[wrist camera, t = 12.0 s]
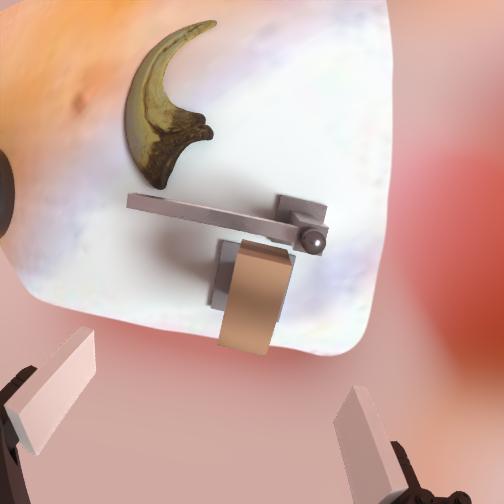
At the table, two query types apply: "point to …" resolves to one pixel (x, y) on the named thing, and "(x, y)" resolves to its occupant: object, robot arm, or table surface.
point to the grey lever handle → (251, 220)
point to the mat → (226, 273)
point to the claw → (161, 113)
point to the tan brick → (255, 297)
